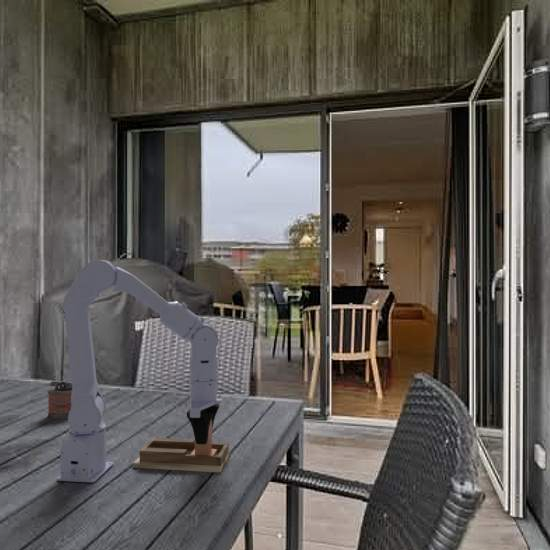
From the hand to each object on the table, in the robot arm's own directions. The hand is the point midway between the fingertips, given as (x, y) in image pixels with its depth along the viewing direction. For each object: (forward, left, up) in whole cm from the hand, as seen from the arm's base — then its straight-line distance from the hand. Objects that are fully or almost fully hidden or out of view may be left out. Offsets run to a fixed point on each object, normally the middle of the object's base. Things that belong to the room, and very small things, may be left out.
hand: (203, 440), depth 112 cm
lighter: (+27, +48, -5) cm, 55 cm away
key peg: (0, 0, -4) cm, 4 cm away
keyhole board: (0, +5, -5) cm, 7 cm away
